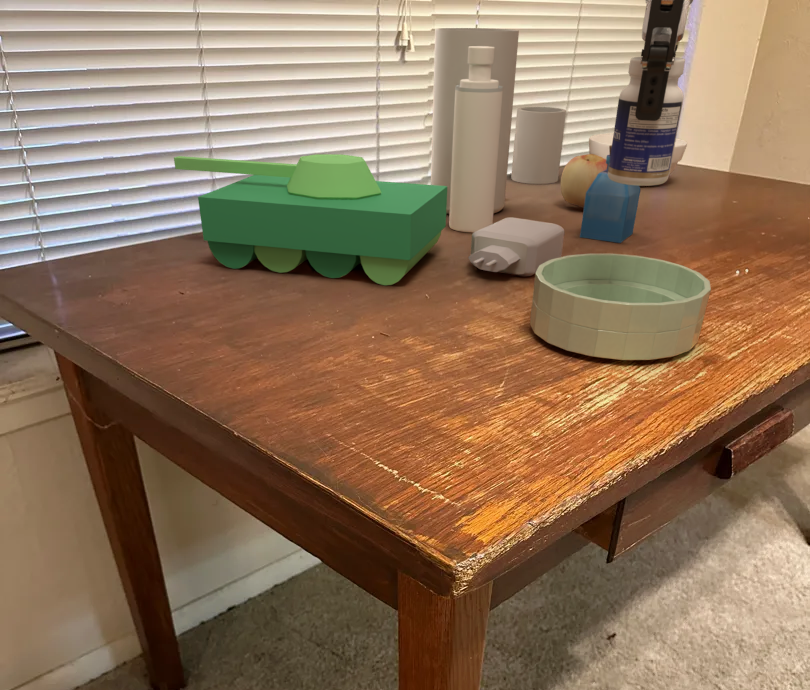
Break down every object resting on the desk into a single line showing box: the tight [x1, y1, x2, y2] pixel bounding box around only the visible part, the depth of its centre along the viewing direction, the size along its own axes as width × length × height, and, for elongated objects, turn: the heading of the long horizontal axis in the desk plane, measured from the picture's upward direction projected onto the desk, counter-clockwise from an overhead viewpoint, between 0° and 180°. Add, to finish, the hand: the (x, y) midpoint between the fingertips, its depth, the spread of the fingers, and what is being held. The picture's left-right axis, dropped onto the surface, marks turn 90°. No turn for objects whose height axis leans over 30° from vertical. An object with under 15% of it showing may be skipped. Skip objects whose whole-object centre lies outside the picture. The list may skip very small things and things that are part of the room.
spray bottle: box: [448, 46, 503, 234], centre depth 109 cm, size 7×7×25 cm
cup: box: [510, 106, 567, 185], centre depth 145 cm, size 9×9×12 cm
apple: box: [560, 153, 608, 208], centre depth 126 cm, size 9×9×8 cm
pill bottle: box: [608, 56, 686, 187], centre depth 69 cm, size 6×6×10 cm
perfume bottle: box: [579, 145, 641, 244], centre depth 110 cm, size 6×6×12 cm
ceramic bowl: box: [529, 253, 712, 361], centre depth 78 cm, size 17×17×6 cm
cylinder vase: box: [430, 27, 520, 215], centre depth 120 cm, size 12×12×25 cm
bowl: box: [588, 132, 688, 176], centre depth 146 cm, size 18×18×7 cm
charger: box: [468, 216, 565, 277], centre depth 97 cm, size 5×9×15 cm
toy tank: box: [173, 153, 447, 286], centre depth 99 cm, size 18×12×35 cm
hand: (648, 114), depth 69 cm, fingers closed on pill bottle, 5 cm apart
